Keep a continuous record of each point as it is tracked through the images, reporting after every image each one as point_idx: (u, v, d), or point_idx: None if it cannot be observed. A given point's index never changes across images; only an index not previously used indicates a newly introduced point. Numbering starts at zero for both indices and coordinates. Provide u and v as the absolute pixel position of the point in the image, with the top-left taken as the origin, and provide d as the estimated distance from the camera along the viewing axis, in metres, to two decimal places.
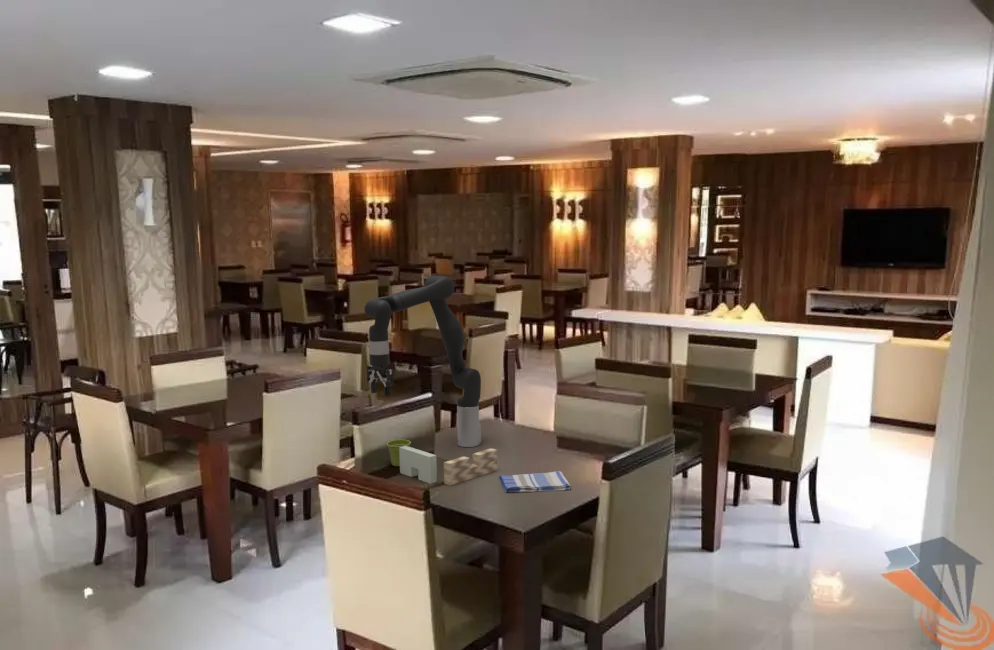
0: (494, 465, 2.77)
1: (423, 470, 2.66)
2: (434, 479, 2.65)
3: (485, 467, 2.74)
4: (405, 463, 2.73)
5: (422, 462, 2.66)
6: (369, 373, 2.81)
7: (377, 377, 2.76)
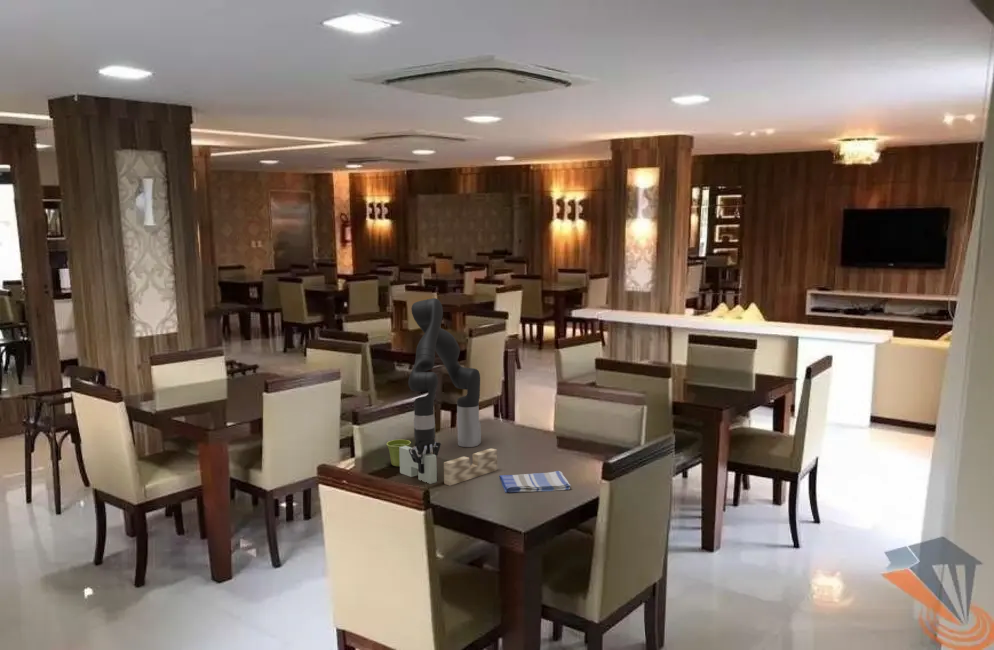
0: (494, 465, 2.77)
1: None
2: (434, 479, 2.65)
3: (485, 467, 2.74)
4: (405, 463, 2.73)
5: None
6: None
7: (426, 452, 2.66)
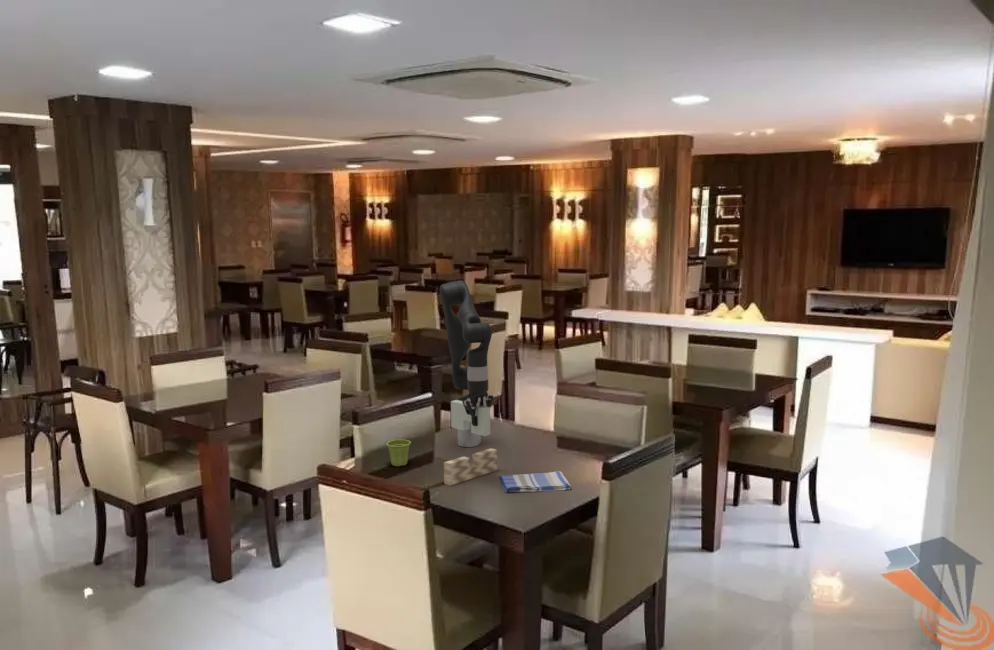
0: (494, 465, 2.77)
1: None
2: (488, 431, 2.63)
3: (485, 467, 2.74)
4: (457, 417, 2.71)
5: None
6: None
7: (480, 404, 2.63)
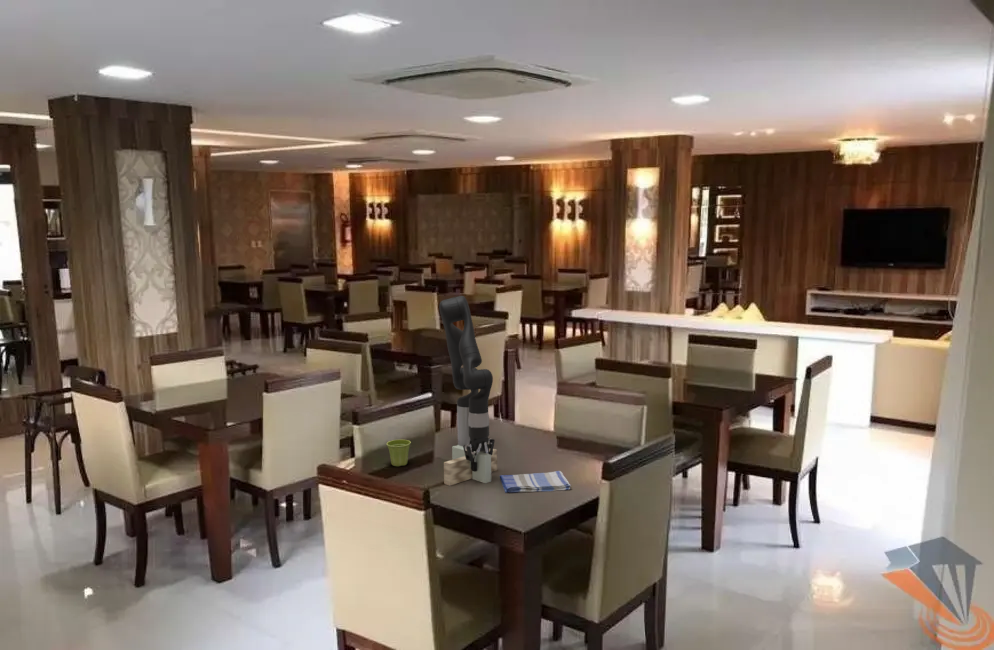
0: (494, 465, 2.77)
1: (477, 469, 2.66)
2: (489, 478, 2.65)
3: None
4: None
5: (477, 461, 2.65)
6: None
7: (480, 450, 2.65)
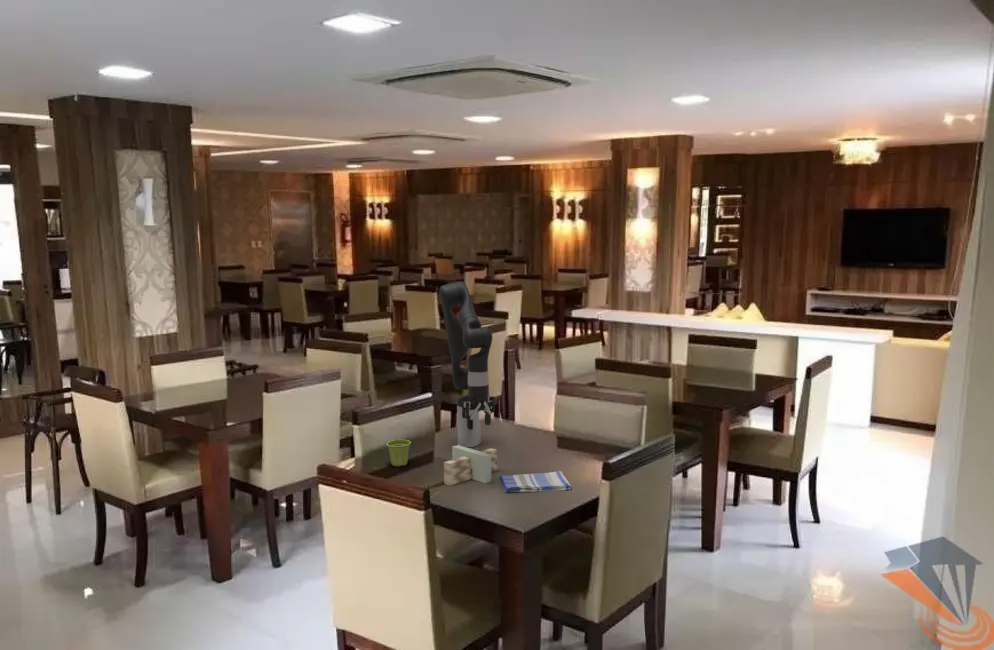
0: (494, 465, 2.77)
1: (477, 469, 2.66)
2: (489, 478, 2.65)
3: None
4: None
5: (477, 461, 2.65)
6: None
7: (480, 409, 2.64)
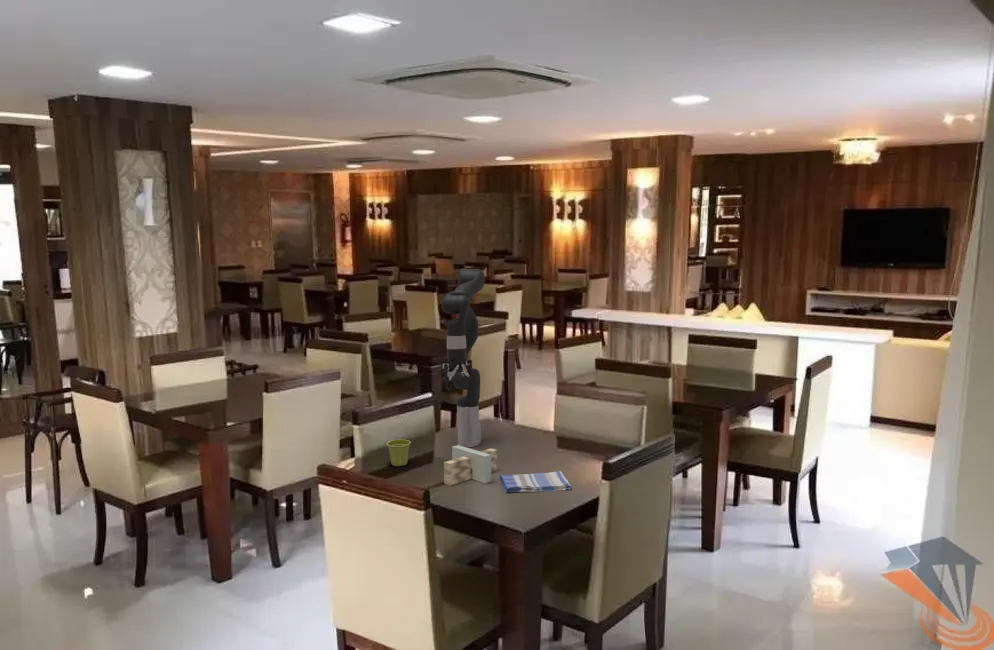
0: (494, 465, 2.77)
1: (477, 469, 2.66)
2: (489, 478, 2.65)
3: None
4: None
5: (477, 461, 2.65)
6: None
7: (458, 371, 2.82)
